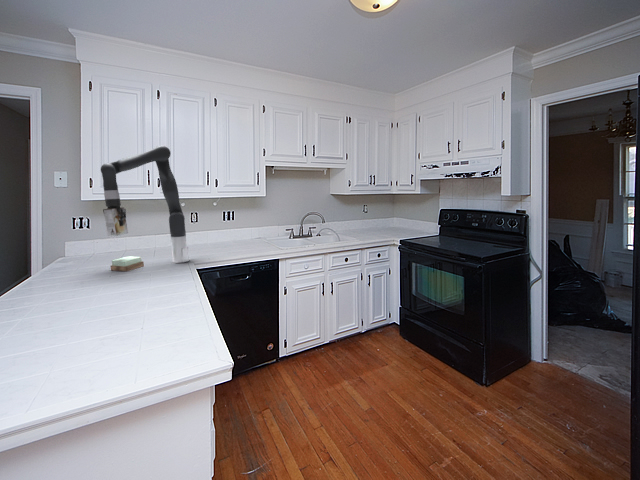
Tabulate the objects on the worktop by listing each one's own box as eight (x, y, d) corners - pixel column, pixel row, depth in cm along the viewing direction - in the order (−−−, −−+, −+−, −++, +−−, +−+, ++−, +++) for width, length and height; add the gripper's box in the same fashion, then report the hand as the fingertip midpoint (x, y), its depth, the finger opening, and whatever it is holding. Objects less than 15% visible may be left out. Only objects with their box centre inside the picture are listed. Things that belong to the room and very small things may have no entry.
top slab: (141, 261, 203) (141, 257, 202) (125, 266, 191) (124, 261, 191) (128, 260, 205) (128, 256, 205) (112, 265, 194) (111, 260, 194)
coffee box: (119, 233, 199) (115, 207, 196) (128, 233, 197) (124, 207, 194) (107, 236, 190) (102, 208, 187) (116, 235, 189) (112, 208, 186)
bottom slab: (144, 266, 204) (143, 261, 204) (127, 272, 192) (127, 266, 191) (128, 266, 207) (127, 260, 206) (111, 271, 194) (110, 265, 194)
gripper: (127, 197, 192) (131, 225, 195) (107, 198, 195) (111, 225, 198) (117, 198, 185) (121, 227, 188) (96, 199, 188) (101, 227, 191)
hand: (116, 226), depth 193 cm, fingers closed on coffee box, 6 cm apart
